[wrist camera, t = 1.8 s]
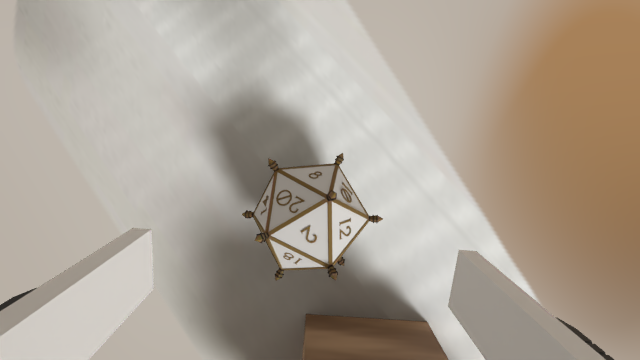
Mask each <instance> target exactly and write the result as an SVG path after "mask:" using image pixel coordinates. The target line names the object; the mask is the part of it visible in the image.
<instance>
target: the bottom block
mask: <svg viewBox="0 0 640 360" xmlns="http://www.w3.org/2000/svg"><path fill="white" fill-rule="evenodd" d="M302 360H448V358H447V356H446V355H445V353H444V351H443V349H442V347H441V346H440V344H439V342H438V340H437V339H436V337H435V335H434V333H433V331H432V330H431V328H430V326H429V324H428V323H427V322H421V321H405V320H390V319H374V318H359V317H343V316H328V315H312V314H306V320H305V332H304V343H303V355H302Z"/></svg>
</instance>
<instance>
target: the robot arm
mask: <svg viewBox="0 0 640 360" xmlns="http://www.w3.org/2000/svg"><path fill="white" fill-rule="evenodd" d="M153 289H154V280H153V254H152V229H139V228H132V229H131V230H129V231H127V232H126V233H124V234H123V235H121V236H119V237H118V238H116V239H115V240H113V241H111V242H110V243H108V244H107V245H105V246H103V247H102V248H100V249H99V250H97V251H96V252H94V253H92V254H91V255H89V256H88V257H86V258H84V259H83V260H81V261H80V262H78V263H76V264H75V265H73V266H72V267H70V268H68V269H67V270H65V271H64V272H62V273H60V274H59V275H57V276H56V277H54V278H52V279H51V280H49V281H48V282H46V283H45V284H43V285H41V286H40V287H38V288H35V289H32V290H30V291H27V292H25V293H22V294H20V295H18V296H15V297H13V298H11V299H9V300H8V301H6V302H5V303H3V304H1V305H0V360H89V359H90V357H92V355H93V354H94V353H95V352H96V351H97V350H98V349H99V348H100V347H101V346H102V344H103V343H104V342H105V341H106V340H107V339H108V338H109V337H110V336H111V335H112V334H113V333H114V331H115V330H116V329H117V328H118V327H119V326H120V325H121V324H122V323H123V321H125V320H126V318H127V317H128V316H129V315H130V314H131V313H132V312H133V311H134V310H135V309H136V308H137V306H138V305H139V304H140V303H141V302H142V301H143V300H144V299H145V298H146V297H147V296H148V294H149V293H150V292H151V291H152V290H153ZM448 307H449V308H450V310H451V311H452V312H453V314H454V315H455V317H456V318H457V320H458V321H459V322H460V324H461V325H462V327H463V328H464V329H465V331H466V332H467V334H468V335H469V337H470V338H471V339H472V341H473V342H474V344H475V345H476V346H477V348H478V349H479V351H480V352H481V354H482V355H483V356H484V358H485V359H486V360H614V359H613V358H612V357H610V356H609V355H606V354H605V352H604V351H603V350H602V349H600V348H599V347H598V346H597V345H596V344H592V342H591V340H589V339H588V338H587V337H586V336H584V335H583V334H582V333H581V332H579V331H578V330H577V329H576V328H574V327H572V326H571V325H569V324H567V323H565V322H564V321H562V320H560V319H558V318H556V317H554V316H553V315H552V314H551V313H549V312H548V311H547V310H546V309H545V308H544V307H542V306H541V305H540V304H539V303H538V302H536V301H535V300H534V299H533V298H532V297H530V296H529V295H528V294H527V293H526V292H524V291H523V290H522V289H521V288H520V287H518V286H517V285H516V284H515V283H514V282H512V281H511V280H510V279H509V278H508V277H506V276H505V275H504V274H503V273H502V272H500V271H499V270H498V269H497V268H496V267H494V266H493V265H492V264H491V263H490V262H488V261H487V260H486V259H485V258H484V257H483V256H481V255H480V254H479V253H478V252H477V251H466V250H459V252H458V258H457V263H456V268H455V273H454V278H453V284H452V289H451V294H450V299H449V304H448Z"/></svg>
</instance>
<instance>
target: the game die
mask: <svg viewBox="0 0 640 360" xmlns="http://www.w3.org/2000/svg"><path fill="white" fill-rule="evenodd" d="M336 157H337V158H336V159H335V160H336V161H335V163H334V164H324V165H312V166H300V167H288V168H278V166H277V165H278V164H276V161H273V160H271V159H269V165H268V166H270V169H272V170H274V174H273V176H272V178H271V180H270V181H269V183H268V185H267V187H266V189H265V191H264V193H263V195H262V197H261V199H260V201H259V203H258V205H257V207H256V209H255V211H254V212H251V211H246V212H245V213H243V214H242V215H243V216H244V217H245V218H251V217H253V218H254V220H255V222H256V223H257V225H258V227H259V229H260V231H261V233H260V234H257V237H256V239H255V241H258V242H260V243H262V242H263V241H264V242H265V241H266V243H267V245H268V247H269V249H270V250H271V252H272V254H273V256H274V258H275V260H276V262H277V264H278V266H279V270H278V271H276V272H277V273H276V274H275V280H278V279H280V278H282V275H284V274H283V271H284V270H305V269H328V273H329V277H331V278H333V279H334V280H336V279H337V275H338V273H337V271H336V268H334V267H333V266H334V265H335V264H336V262H338V264H339V265H343V266H344V261H345V259H343V257H341V256H342V255H343V253H344V252H345V251H346V250H347V248H348V247H349V246H350V245H351V243H352V242H353V241H354V240H355V238H356V237H357V236H358V234H359V233H360V232H361V231H362V229H363V228H364V227H365V226H366V224H367V223H368V222H369V221H371V222H373V223H374V222H379V221H381V220H382V218H381V217H379V216H374V215H373V216H369V215H368V214H367V212H366V210H365V209H364V207H363V205H362V204H361V202H360V200H359V199H358V197H357V195H356V194H355V192H354V190H353V189H352V187H351V185H350V184H349V182H348V180H347V179H346V177H345V175H344V174H343V172H342V170H341V169H340V167H339V165H340V164H341V163H342V161H343V160H344V159H343V153H342V154H340V155H339V156H336Z"/></svg>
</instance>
